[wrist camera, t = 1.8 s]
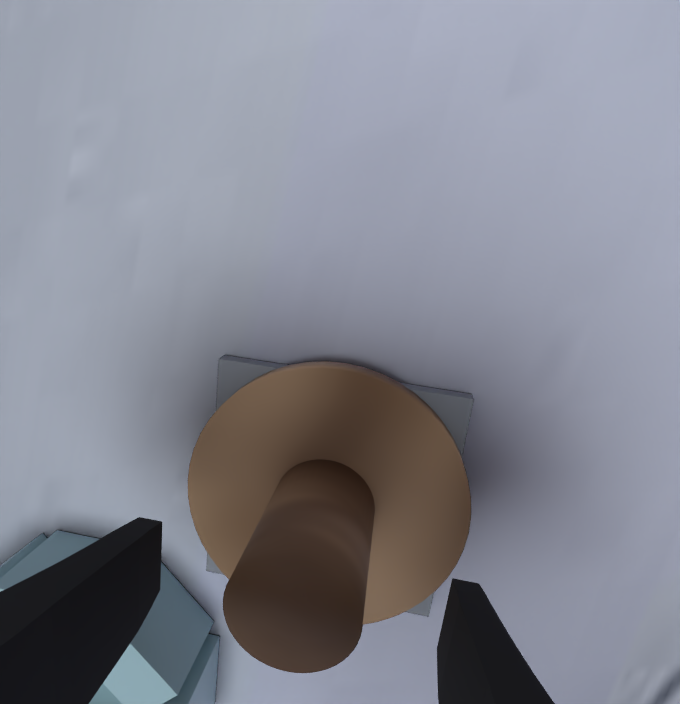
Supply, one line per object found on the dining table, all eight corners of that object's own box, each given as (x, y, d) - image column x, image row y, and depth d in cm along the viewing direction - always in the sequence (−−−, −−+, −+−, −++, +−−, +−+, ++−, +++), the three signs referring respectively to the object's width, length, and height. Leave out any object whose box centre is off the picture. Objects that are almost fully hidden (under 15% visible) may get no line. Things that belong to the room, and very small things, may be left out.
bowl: (224, 564, 17) (188, 629, 14) (210, 763, 20) (177, 853, 17) (-21, 514, 18) (-101, 566, 15) (-5, 710, 21) (-71, 786, 18)
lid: (494, 386, 14) (544, 469, 9) (440, 631, 16) (456, 807, 11) (204, 340, 15) (102, 394, 10) (192, 579, 17) (104, 721, 12)
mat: (471, 394, 15) (473, 399, 14) (428, 605, 17) (428, 616, 16) (224, 355, 15) (218, 358, 15) (211, 561, 17) (206, 571, 17)
